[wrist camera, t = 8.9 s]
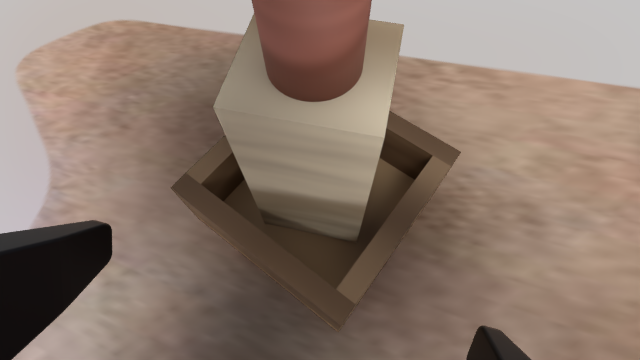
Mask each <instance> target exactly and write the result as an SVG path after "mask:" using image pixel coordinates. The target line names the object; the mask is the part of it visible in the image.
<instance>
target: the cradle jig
mask: <svg viewBox="0 0 640 360" xmlns="http://www.w3.org/2000/svg"><path fill="white" fill-rule="evenodd" d="M460 153H461V152H460V151H458V150H457V149H455V148H453V147H451V146H450V145H448V144H446V143H444V142H443V141H441V140H439V139H437V138H436V137H434V136H432V135H430V134H429V133H427V132H425V131H424V130H422V129H420V128H418V127H417V126H415V125H413V124H411V123H410V122H408V121H406V120H404V119H403V118H401V117H399V116H397V115H396V114H394V113H392V112H390V111H389V115H388V121H387V127H386V133H385V138H384V142H383V146H382V149H381V153H380V157H379V161H378V164H377V168H376V172H375V175H374V179H373V183H372V187H371V190H370V194H369V198H368V202H367V205H366V209H365V213H364V217H363V220H362V224H361V228H360V231H359V235H358V239H357V243H356V242H351V241H346V240H342V239H337V238H332V237H327V236H323V235H318V234H313V233H309V232H304V231H299V230H295V229H290V228H285V227H280V226H276V225H271V224H266V223H265V222H264V220H263V218H262V216H261V214H260V211H259V209H258V207H257V205H256V202H255V200H254V198H253V196H252V193H251V191H250V189H249V187H248V184H247V182H246V180H245V178H244V176H243V173H242V171H241V169H240V167H239V164H238V162H237V160H236V158H235V155H234V153H233V151H232V149H231V146H230V144H229V142H228V140H227V138H226V135H225V136H224V137H223V138H222V139H221V140H220V141H219V142H218V143H217V144H216V145H214V146H213V147H212V148H211V149H210V150H209V151H208V152H207V153H206V154H205V155H204V156H203V157H202V158H201V159H200V160H199V161H198V162H197V163H196V164H195V165H194V166H193V167H192V168H191V169H189V170H188V171H187V172H186V173H185V174H184V175H183V176H182V177H181V178H180V179H179V180H178V181H177V182H176V183H175V184H174V185H173V186H172V187H171V189H172V190H173V191H174V192H175V193H176V194H177V195H178V196H179V198H180V199H181V200H182V201H183V202H184V203H185V204H186V205H187V206H188V207H189V209H190V210H191V211H192V212H193V213H194V214H195V215H196V216H197V217H198V218H199V219H200V220H201V221H203V222H204V223H205V224H206V225H207V226H209V227H210V228H211V229H212V230H214V231H215V232H216V233H217V234H218V235H220V236H221V237H222V238H223V239H225V240H226V241H227V242H228V243H229V244H231V245H232V246H233V247H234V248H236V249H237V250H238V251H239V252H241V253H242V254H243V255H244V256H245V257H247V258H248V259H249V260H250V261H252V262H253V263H254V264H255V265H256V266H258V267H259V268H260V269H261V270H263V271H264V272H265V273H266V274H267V275H269V276H270V277H271V278H272V279H274V280H275V281H276V282H277V283H278V284H280V285H281V286H282V287H283V288H285V289H286V290H287V291H288V292H290V293H291V294H292V295H293V296H294V297H296V298H297V299H298V300H299V301H301V302H302V303H303V304H304V305H305V306H307V307H308V308H309V309H310V310H312V311H313V312H314V313H315V314H316V315H318V316H319V317H320V318H321V319H323V320H324V321H325V322H326V323H327V324H329V325H330V326H331V327H332V328H334V329H335V330H336V331H337V332H339V330H340V329H341V328H342V326H343V325H344V323H345V322H346V320H347V319H348V317H349V316H350V314H351V313H352V312H353V310H354V309H355V307H356V306H357V304H358V303H359V301H360V300H361V298H362V297H363V296H364V294H365V293H366V291H367V290H368V288H369V287H370V285H371V284H372V282H373V281H374V280H375V278H376V277H377V275H378V274H379V272H380V271H381V269H382V268H383V266H384V265H385V264H386V262H387V261H388V259H389V258H390V256H391V255H392V253H393V252H394V250H395V249H396V248H397V246H398V245H399V243H400V242H401V240H402V239H403V237H404V236H405V234H406V233H407V232H408V230H409V229H410V227H411V226H412V224H413V223H414V221H415V220H416V218H417V217H418V216H419V214H420V213H421V211H422V210H423V208H424V207H425V205H426V204H427V202H428V201H429V200H430V198H431V197H432V195H433V194H434V192H435V191H436V189H437V188H438V186H439V185H440V183H441V182H442V180H443V179H444V177H445V176H446V174H447V173H448V171H449V170H450V168H451V167H452V165H453V164H454V162H455V161H456V159H457V157H458V156H459V154H460Z"/></svg>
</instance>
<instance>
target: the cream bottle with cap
mask: <svg viewBox="0 0 640 360" xmlns="http://www.w3.org/2000/svg"><path fill="white" fill-rule="evenodd" d="M371 1H372V0H252V3H253V8H254V15H253V17H252V19H251V22H250V24H249V26H248V28H247V31H246V33H245V35H244V37H243V40H242V42H241V44H240V46H239V49H238V51H237V53H236V56H235V58H234V60H233V62H232V65H231V67H230V69H229V71H228V74H227V76H226V78H225V81H224V83H223V85H222V87H221V90H220V92H219V94H218V96H217V99H216V101H215V103H214V106H213V108H214V111H215V113H216V115H217V117H218V120H219V122H220V124H221V126H222V129H223V131H224V133H225V135H226V138H227V140H228V142H229V144H230V146H231V149H232V151H233V153H234V155H235V158H236V160H237V162H238V164H239V167H240V169H241V171H242V173H243V176H244V178H245V180H246V182H247V184H248V187H249V189H250V191H251V193H252V196H253V198H254V200H255V202H256V205H257V207H258V209H259V211H260V214H261V216H262V218H263V220H264V222H265V223H266V224H271V225H276V226H280V227H285V228H290V229H295V230H299V231H304V232H309V233H313V234H318V235H323V236H327V237H332V238H337V239H342V240H346V241H351V242H356V243H357V239H358V235H359V231H360V228H361V224H362V220H363V217H364V213H365V209H366V205H367V202H368V198H369V194H370V190H371V187H372V183H373V179H374V175H375V172H376V168H377V164H378V161H379V157H380V153H381V149H382V146H383V142H384V138H385V133H386V127H387V121H388V115H389V109H390V104H391V98H392V92H393V86H394V80H395V75H396V69H397V63H398V57H399V51H400V45H401V39H402V33H403V28H404V25H403V24H396V23H389V22H382V21H375V20H369V16H370V9H371Z"/></svg>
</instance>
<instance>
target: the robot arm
mask: <svg viewBox="0 0 640 360" xmlns="http://www.w3.org/2000/svg"><path fill="white" fill-rule="evenodd" d="M111 256H112V229H111V226H110V225H109V224H107V223H103V222H99V221H96V220H91V221H84V222H77V223H70V224H64V225H57V226H50V227H43V228H36V229H30V230H23V231H16V232H9V233H2V234H0V360H12V359H13V358H14V357H15V356H16V355H17V354H18V353H19V352H20V351H21V350H23V349H24V348H25V347H26V346H27V345H28V344H29V343H30V342H31V341H32V340H33V339H34V338H36V337H37V336H38V335H39V334H40V333H41V332H42V331H43V330H44V329H45V328H46V327H48V326H49V325H50V324H51V323H52V322H53V321H54V320H55V319H56V318H57V317H58V316H59V315H60V314H61V313H62V312H63V311H64V310H65V309H66V308H67V307H68V306H69V305H70V304H71V303H72V302H73V301H74V300H75V299H76V298H77V297H78V295H79V294H80V293H81V292H82V291H83V290H84V289H85V288H86V287H87V286H88V284H89V283H90V282H91V281H92V280H93V279H94V278H95V277H96V276H97V275H98V274H99V272H100V271H101V270H102V269H103V268H104V267H105V266H106V265H107V264H108V262H109V261H110V259H111ZM467 360H531V359H530V358H529V357H528V356H527V355H526V354H525V353H524V352H523V351H522V350H521V349H520V348H518V347H517V346H516V345H515V344H514V343H513V342H512V341H511V340H510V339H509V338H508V337H507V336H506V335H505V334H504V333H503V332H502V331H500V330H498V329H494V328H491V327H487V326H480V327H479V328H478V329H477V331H476V334H475V336H474V339H473V342H472V344H471V347H470V349H469V352H468V355H467Z"/></svg>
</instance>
